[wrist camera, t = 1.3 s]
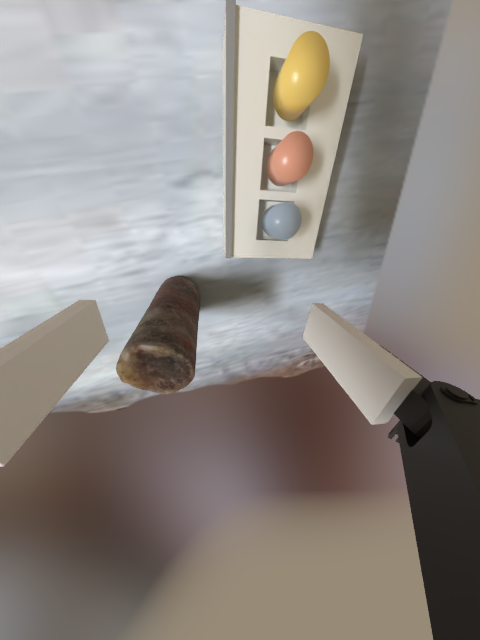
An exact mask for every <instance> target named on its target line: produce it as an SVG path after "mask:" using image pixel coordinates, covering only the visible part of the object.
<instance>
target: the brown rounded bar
mask: <svg viewBox="0 0 480 640" xmlns="http://www.w3.org/2000/svg"><path fill="white" fill-rule="evenodd" d="M199 309H200V294H199V291H198V289H197V287H196V286H195V285H194V284H193V283H192V282H191V281H190V280H189V279H187V278H185V277H181V276H176V277H171V278H169V279H167V280H166V281H165V282H164V283H163V284H162V285H161V287H160V288H159V290H158V292H157V293H156V295H155V297H154V299H153V301H152V302H151V304H150V306H149V308H148V309H147V311H146V313H145V314H144V316H143V317H142V319H141V321H140V322H139V324H138V326H137V328H136V329H135V331H134V332H133V334H132V336H131V338H130V339H129V341H128V342H127V344H126V346H125V347H124V349H123V351H122V353H121V355H120V358H119V360H118V362H117V364H116V365H117V366H116V370H117V374H118V375H119V377H120V379H121V381H122V382H124V383H128V384H130V385H131V386H134V387H136V388H139V389H141V390H149V391H152V392H156V393H160V394H170V393H173V392H176V391H178V390H180V389H182V388H184V387H186V386H187V385H188V384H189V383H190V382H191V381H192V380H193V378H194V375H195V364H196V347H197V332H198V320H199Z"/></svg>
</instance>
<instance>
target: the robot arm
mask: <svg viewBox="0 0 480 640" xmlns="http://www.w3.org/2000/svg"><path fill="white" fill-rule="evenodd" d="M303 338H304V340H305V341H306V342H307V343H308V345H309V346H310V347H311V348H312V350H313V351H314V352H315V353H316V355H317V356H318V357H319V359H320V360H321V361H322V362H323V364H324V365H325V366H326V367H327V369H328V370H329V371H330V372H331V374H332V375H333V376H334V377H335V379H336V380H337V381H338V382H339V384H340V385H341V386H342V388H343V389H344V390H345V391H346V393H347V394H348V395H349V396H350V398H351V399H352V400H353V401H354V403H355V404H356V405H357V407H358V408H359V409H360V410H361V412H362V413H363V414H364V415H365V417H366V418H367V419H368V420H369V422H370V423H371V424H372V425H373V424H382V423H387V422H388V421H389V420H390V418H391V417H392V416H393V415H394V414H395V415H396V416H397V417H398V418H399V419H400V421H399V422H398V423H397V424H396V426H395V427H394V428H393V429H392V430H391V432H390V433H389V435H388V438H390V439H392V437H393V436H394V435H395V434H398V439H397V440H396V442H398V443H400V448H401V454H402V460H403V466H404V472H405V478H406V484H407V489H408V495H409V501H410V507H411V513H412V518H413V524H414V529H415V535H416V541H417V547H418V553H419V559H420V565H421V571H422V576H423V582H424V588H425V594H426V599H427V605H428V611H429V617H430V623H431V628H432V634H433V640H480V400H478V399H475V398H474V397H473V396H471V395H470V394H468V393H467V392H465V391H463V390H461V389H460V388H458V387H455V386H453V385H451V384H448V383H445V382H440V381H434V382H430V381H428V380H427V379H426V378H424V377H423V376H422V375H420V374H419V373H418V372H416V371H414V370H413V369H412V368H411V367H409V366H408V365H407V364H405V363H404V362H403V361H401V360H399V359H398V358H397V357H396V356H394V355H393V354H390V352H389V351H388V350H386V349H385V348H384V347H382V346H381V345H378V344H377V343H375V342H374V341H373V340H372V339H370V338H369V337H367V336H366V335H365V334H363V333H362V332H361V331H359V330H358V329H357V328H355V327H354V326H353V325H351V324H350V323H349V322H347V321H346V320H345V319H343V318H342V317H340V316H339V315H338V314H336V313H335V312H334V311H332V310H331V309H330V308H328V307H327V306H326V305H324V304H320V303H313V304H312V307H311V311H310V314H309V317H308V321H307V324H306V328H305V331H304V334H303ZM108 341H109V339H108V336H107V333H106V330H105V327H104V324H103V321H102V318H101V315H100V312H99V309H98V306H97V303H96V300H79V301H77V302H76V303H74V304H73V305H71V306H69V307H68V308H66V309H64V310H63V311H61V312H60V313H58V314H56V315H55V316H53V317H51V318H50V319H48V320H47V321H45V322H43V323H42V324H40V325H38V326H37V327H35V328H33V329H32V330H30V331H29V332H27V333H25V334H24V335H22V336H20V337H19V338H17V339H16V340H14V341H12V342H11V343H9V344H7V345H6V346H4V347H3V348H1V349H0V467H1V466H5V465H6V463H7V462H8V461H9V460H10V459H11V457H12V456H13V455H14V454H15V453H16V452H17V450H18V449H19V448H20V447H21V445H22V444H23V443H24V442H25V441H26V439H27V438H28V437H29V436H30V434H32V432H33V431H34V430H35V429H36V428H37V426H38V425H39V424H40V423H41V422H42V420H43V419H44V418H45V416H47V414H48V413H49V412H50V411H51V410H52V408H53V407H54V406H55V405H56V404H57V402H58V401H59V400H60V399H61V398H62V396H63V395H64V394H65V393H66V392H67V390H68V389H69V388H70V387H71V386H72V385H73V383H74V382H75V381H76V380H77V379H78V377H79V376H80V375H81V374H82V373H83V371H84V370H85V369H86V368H87V367H88V365H89V364H90V363H91V362H92V361H93V359H94V358H95V357H96V356H97V355H98V353H99V352H100V351H101V350H102V349H103V347H104V346H105V345H106V344H107V343H108Z"/></svg>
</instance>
